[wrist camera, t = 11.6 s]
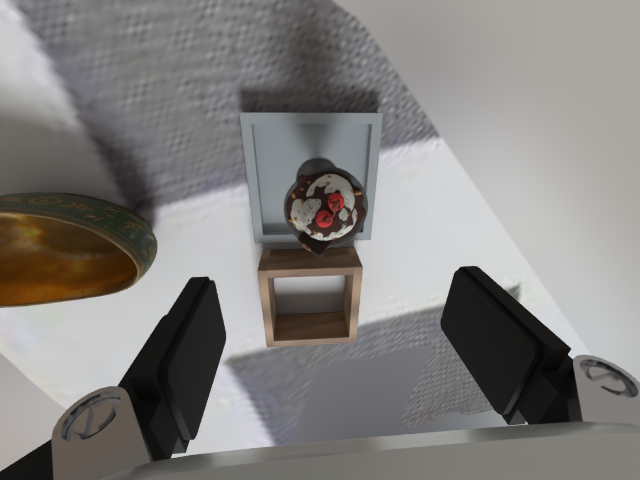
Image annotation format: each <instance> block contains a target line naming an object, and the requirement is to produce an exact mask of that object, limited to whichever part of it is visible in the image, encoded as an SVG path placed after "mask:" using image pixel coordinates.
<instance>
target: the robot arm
mask: <svg viewBox="0 0 640 480" xmlns="http://www.w3.org/2000/svg"><path fill="white" fill-rule="evenodd" d="M441 328H442V330H443V332H444V333H445V335H446V336H447V338H448V340H449V341H450V343H451V344H452V346H453V347H454V349H455V350H456V352H457V353H458V355H459V356H460V358H461V359H462V361H463V363H464V364H465V366H466V367H467V369H468V370H469V372H470V373H471V375H472V376H473V378H474V379H475V381H476V382H477V384H478V386H479V387H480V389H481V390H482V392H483V393H484V395H485V396H486V398H487V399H488V401H489V402H490V404H491V405H492V407H493V408H494V410H495V411H496V412H497V413H498V414H501V415H502V417H503V418H504V419H505V421H506V423H507V424H508V425H517V424H524V423H525V422H526V421H527V423H528V424H529V425H519V426H506V427H495V428H494V427H493V428H481V429H469V430H457V431H445V432H432V433H420V434H408V435H396V436H385V437H374V438H363V439H351V440H339V441H328V442H318V443H306V444H295V445H284V446H273V447H262V448H251V449H242V450H233V451H224V452H215V453H206V454H197V455H189V456H183V457H177V458H171V456H172V454H177V453H186V450H187V447H188V444H189V441H190V440H194V439H195V437H196V435H197V432H198V429H199V426H200V423H201V420H202V416H203V413H204V410H205V407H206V403H207V400H208V397H209V394H210V391H211V387H212V384H213V381H214V378H215V374H216V371H217V368H218V365H219V361H220V358H221V355H222V352H223V349H224V345H225V342H226V331H225V326H224V322H223V317H222V313H221V308H220V303H219V299H218V294H217V290H216V285H215V282H214V281H213V280H210V279H209V277H192V278H190V279H189V281H188V283H187V284H186V286H185V287H184V289H183V291H182V292H181V294H180V295H179V297H178V298H177V300H176V302H175V303H174V305H173V306H172V308H171V309H170V311H169V313H168V314H167V315H165V316H163V317H162V319H161V320H160V321H159V323H158V324H157V326H156V328H155V329H154V331H153V332H152V334H151V335H150V337H149V338H148V340H147V341H146V343H145V344H144V346H143V348H142V349H141V351H140V352H139V354H138V355H137V357H136V358H135V360H134V361H133V363H132V364H131V366H130V368H129V369H128V371H127V372H126V374H125V375H124V377H123V378H122V380H121V381H120V383H119V384H118V386H109V387H105V388H101V389H98V390H96V391H94V392H91V393H89V394H87V395H86V396H84V397H83V398H81V399H80V400H78V401H77V402H76V403H74V404H73V405H72V406H71V407H70V408H69V409H67V410H66V412H65V413H64V414H63V415H62V416H61V418H60V419H59V420H58V422H57V424H56V426H55V427H54V429H53V433H52V439H51V440H49V441H48V442H46V443H45V444H43V445H42V446H40V447H38V448H37V449H35V450H33V451H32V452H30V453H29V454H27V455H26V456H24V457H22V458H21V459H19V460H18V461H16V462H15V463H13V464H11V465H10V466H8V467H7V468H5V469H4V470H2V471H1V472H0V480H640V383H639V382H638V381H637V380H636V379H635V378H634V377H633V376H632V375H630V374H629V373H628V372H626V371H625V370H623V369H622V368H620V367H618V366H617V365H615V364H613V363H611V362H609V361H606V360H604V359H601V358H598V357H595V356H590V355H579V356H576V357H575V358H574V359H572V358H571V357H569V356H568V353H569V352H570V350H571V348H570V347H569V346H568V345H567V344H565V343H564V342H563V341H562V340H561V339H560V338H559V337H558V336H556V335H555V334H554V333H553V332H552V331H551V330H550V329H548V328H547V327H546V326H545V325H544V324H543V323H542V322H540V321H539V320H538V319H537V318H536V317H535V316H534V315H532V314H531V313H530V312H529V311H528V310H527V309H526V308H524V307H523V306H522V305H521V304H520V303H519V302H518V301H516V300H515V299H514V298H513V297H512V296H511V295H510V294H509V293H507V292H506V291H505V290H504V289H503V288H502V287H501V286H499V285H498V284H497V283H496V282H495V281H494V280H493V279H491V278H490V277H489V276H488V275H487V274H486V273H485V272H483V271H482V270H481V269H480V268H479V267H477V266H465V267H460V268H459V269H458V270H457V271H456V272H455V273H454V276H453V280H452V283H451V287H450V290H449V294H448V297H447V301H446V304H445V308H444V311H443V315H442V318H441Z"/></svg>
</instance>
